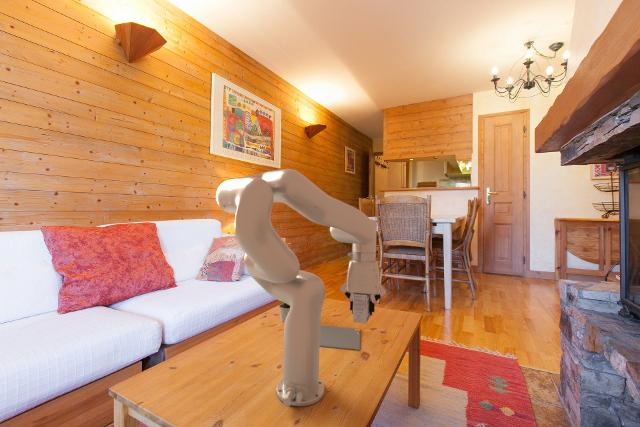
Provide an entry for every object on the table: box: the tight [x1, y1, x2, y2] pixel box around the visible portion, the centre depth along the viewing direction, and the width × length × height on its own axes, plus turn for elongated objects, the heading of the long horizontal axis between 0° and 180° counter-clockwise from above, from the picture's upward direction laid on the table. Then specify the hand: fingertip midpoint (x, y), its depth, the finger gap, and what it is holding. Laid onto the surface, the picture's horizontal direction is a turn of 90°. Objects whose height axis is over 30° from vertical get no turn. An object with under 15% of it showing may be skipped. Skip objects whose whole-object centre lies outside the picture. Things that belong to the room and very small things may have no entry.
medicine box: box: [352, 293, 371, 325], centre depth 95 cm, size 8×4×9 cm, turn 160°
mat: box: [320, 324, 361, 351], centre depth 112 cm, size 18×22×1 cm
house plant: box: [272, 297, 290, 323], centre depth 125 cm, size 14×14×16 cm
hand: (362, 312), depth 95 cm, fingers closed on medicine box, 5 cm apart
